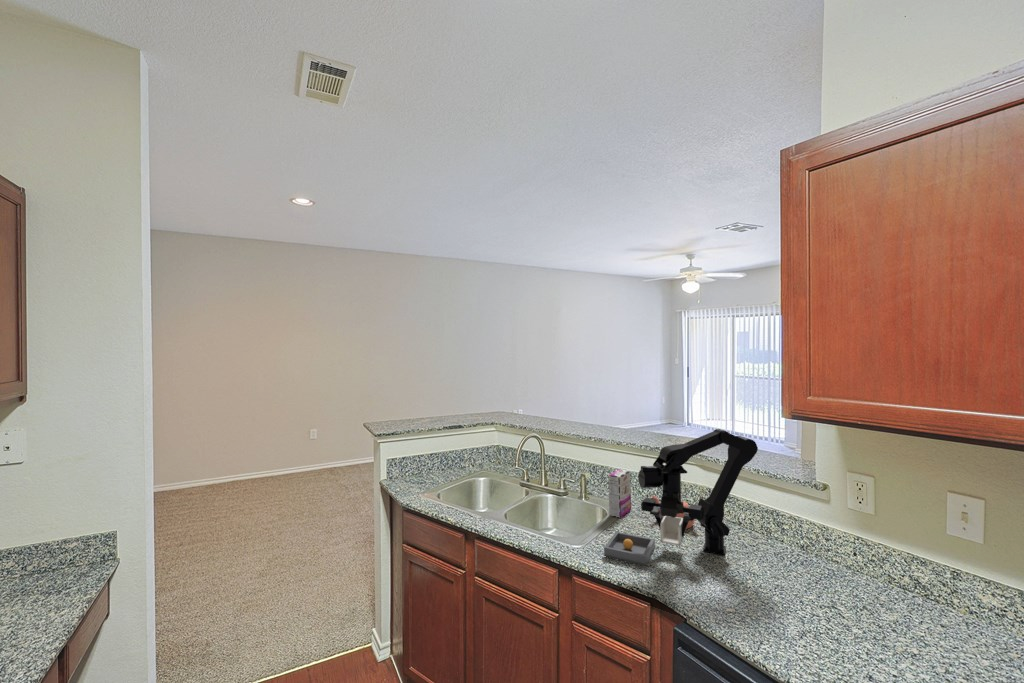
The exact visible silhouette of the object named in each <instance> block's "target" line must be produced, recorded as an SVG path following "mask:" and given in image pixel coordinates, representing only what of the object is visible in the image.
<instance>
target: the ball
mask: <svg viewBox="0 0 1024 683" xmlns="http://www.w3.org/2000/svg"><path fill="white" fill-rule="evenodd" d="M623 546H624V548H625V549H628V550H629V549H631V548H632V547H633V542H632V541H631V540H630V539H625V540H624V541H623Z"/></svg>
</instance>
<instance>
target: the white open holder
mask: <svg viewBox="0 0 1024 683" xmlns="http://www.w3.org/2000/svg"><path fill="white" fill-rule="evenodd" d="M682 525H683V518H679V517H675V518H673V517H670V516H664V517H663V519H662V521H661V523H660V528H659V531H660V532H659V533H660V543H661V544H662V543H663V544H668V545H673V546H679V547H681V546H682V543H683V540H684V537H685V535H684V536H683V537H682Z"/></svg>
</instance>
